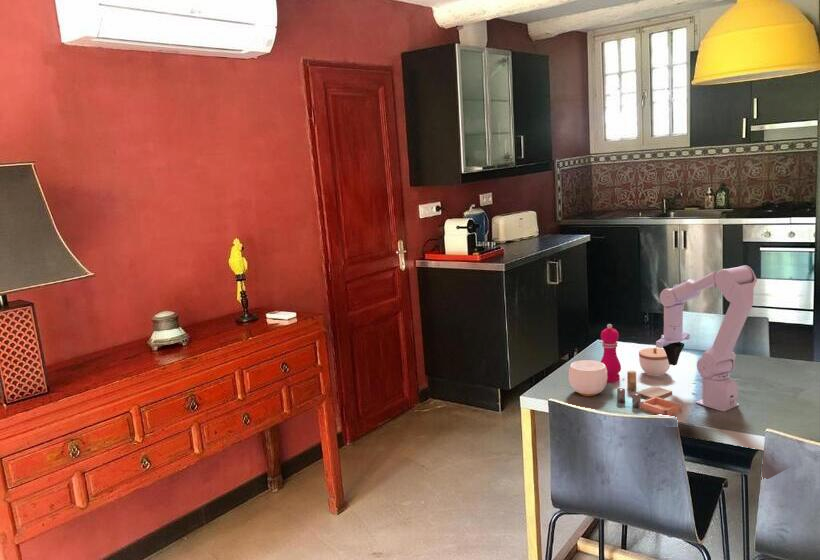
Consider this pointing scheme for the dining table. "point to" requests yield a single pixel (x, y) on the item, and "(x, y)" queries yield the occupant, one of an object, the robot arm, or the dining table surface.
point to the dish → (660, 406)
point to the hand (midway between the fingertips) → (672, 364)
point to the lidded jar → (654, 361)
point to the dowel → (631, 380)
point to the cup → (588, 377)
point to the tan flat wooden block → (654, 392)
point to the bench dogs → (635, 398)
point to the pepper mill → (610, 354)
